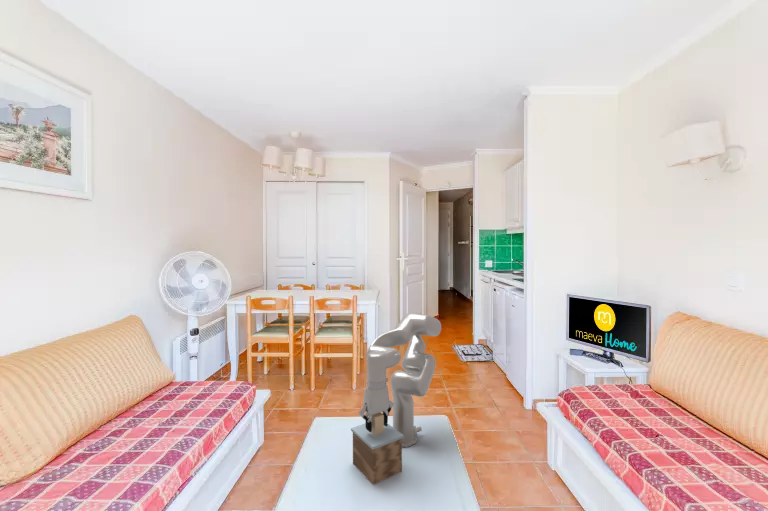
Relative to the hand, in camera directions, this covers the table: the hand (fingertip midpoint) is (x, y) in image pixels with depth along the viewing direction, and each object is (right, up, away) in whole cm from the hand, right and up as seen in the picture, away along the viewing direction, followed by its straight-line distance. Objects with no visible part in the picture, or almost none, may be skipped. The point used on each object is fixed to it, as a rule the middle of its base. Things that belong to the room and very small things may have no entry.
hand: (376, 427), depth 137 cm
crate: (0, -16, 0) cm, 16 cm away
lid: (0, -4, 0) cm, 4 cm away
